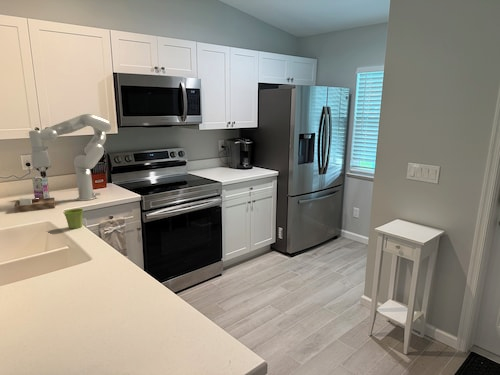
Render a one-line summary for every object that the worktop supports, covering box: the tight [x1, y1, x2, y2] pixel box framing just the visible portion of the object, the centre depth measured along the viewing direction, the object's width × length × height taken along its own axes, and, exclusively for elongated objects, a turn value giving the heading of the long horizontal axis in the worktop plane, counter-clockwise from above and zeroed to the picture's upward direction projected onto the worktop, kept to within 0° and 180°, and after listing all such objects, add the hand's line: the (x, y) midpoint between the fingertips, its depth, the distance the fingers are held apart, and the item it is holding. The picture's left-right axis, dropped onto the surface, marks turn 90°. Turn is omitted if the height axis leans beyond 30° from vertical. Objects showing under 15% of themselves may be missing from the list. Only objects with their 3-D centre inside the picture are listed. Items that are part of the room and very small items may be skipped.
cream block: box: [18, 196, 33, 206], centre depth 220 cm, size 6×5×4 cm
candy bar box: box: [31, 176, 51, 199], centre depth 250 cm, size 11×5×16 cm, turn 62°
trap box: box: [14, 197, 56, 214], centre depth 223 cm, size 21×18×5 cm
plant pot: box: [62, 208, 85, 230], centre depth 176 cm, size 9×9×9 cm
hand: (43, 177), depth 225 cm, fingers closed
